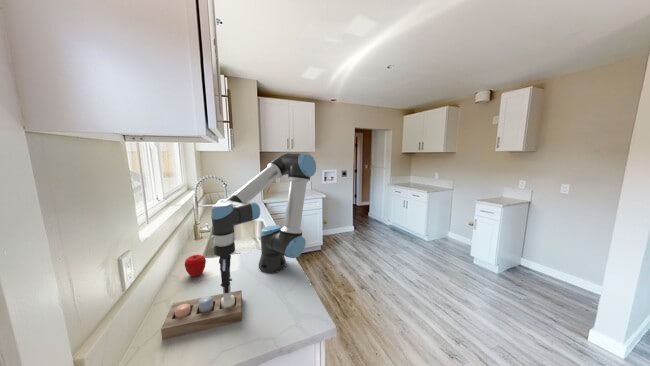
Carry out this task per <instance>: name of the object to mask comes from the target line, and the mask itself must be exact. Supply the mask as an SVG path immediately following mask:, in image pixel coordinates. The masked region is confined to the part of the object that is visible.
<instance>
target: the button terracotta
mask: <svg viewBox="0 0 650 366" xmlns="http://www.w3.org/2000/svg"><path fill="white" fill-rule="evenodd" d="M190 314H191V310H190V305H189V304H182V305H180V306H178V307H177V308H176V309H175V319H176V318H181V317H186V316H190Z"/></svg>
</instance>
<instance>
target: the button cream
mask: <svg viewBox="0 0 650 366" xmlns="http://www.w3.org/2000/svg"><path fill="white" fill-rule="evenodd" d="M221 306H222V308H221V309H224V308H229V307H233V306H235V297H234V295H231V299H227V300H223V298H222V299H221Z"/></svg>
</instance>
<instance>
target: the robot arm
mask: <svg viewBox="0 0 650 366" xmlns="http://www.w3.org/2000/svg"><path fill="white" fill-rule="evenodd" d="M316 172H317V162H316V160H315V158H314V156H312V155H311V154H310V153H302V152H301V153H300V152H299V153H298V152H297V153H291V152H290V153H289V152H288V153H284V154H281V155H279V156H277V157H276V158H275V159H274V160H272V161H270V162H269V163H268V164H267V167H266V168H265V169H263V170H262V171H261V172H260V173H258V174H257V175H255V177H253V178H252V179H251V180H249V181H248V182H247V183H245V184H244V185H243V186H241V188H239V189H238V190H236V191H235V192H234V193H233V194H231V195H230V196H229V197H228V198H221V199H219V200H217V202H216V203H215V204H213V205H212V206H211V216H210V217H211V218H210V219H211V222H212V223H211V225H212V227H211V228H212V235H211V237H210V238H211V239H213V240H212V241H213V242H212V243H213V254H214V255H215V256H216V257H219V259H218V263H219V270H220V271H219V272H220V278H221V283H220V287H222V294H223V300H227V299H231V292H232V290H231V288H232V287H231V282H232V281H233V278H231V258H232V255H231V254H234V253H235V251H236V245H235V240H236V239H235V226H238V225H241V224H245V223H248V222H252V221H255V220H257V219H259V218H260V215H261V208H260V206H259V204H258V203H257V202H255V201H254V202H250V201H252V200H253V199H254V198H255V197H256V196H258V195H259V194H260V193H261V192H262V191H263V190H265V189H266V188H267V187H268V186H269V185H271V184H272V183H273V182H274V181H276V179H281V178H282V177H283V176H287V178H288V179H289V181H290V182H289V188H288V193H287V194H288V195H287V201H286V202H287V203H286V209H285V216H284V224H283V226H282V225H279V224H273V225H267V226H264V227H263V228H262V229H261V230H260V247H261V248H260V250H261V252H260V253H261V254H260V257H259V261H258V270H259V269H260V270H261V271H260V270H259V271H260V272H263V273H265V272H266V273H265V274H267V273H268V274H272V273H273V272H274V273H278V272H280V270H281V269H282V270H284V269H285V268H286V266H287V261H286V258H290V259H296V258H299V256H301V255H302V253H303V252H304V250H305V247H306V244H307V243H306V238H305V237H304V236H303V230H302V228H301V224H302V218H303V212H304V211H303V210H304V205H305V204H304V203H305V196H306V190H307V183H308V182H310V181H311V177H313V176H314V175H315V174H316ZM285 257H286V258H285ZM285 265H286V266H285ZM284 267H285V268H284ZM283 268H284V269H283ZM282 270H281V271H282ZM277 271H278V272H277Z"/></svg>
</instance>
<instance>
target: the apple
mask: <svg viewBox="0 0 650 366" xmlns="http://www.w3.org/2000/svg"><path fill="white" fill-rule="evenodd" d="M206 263H207V259H206V257H205V256H204V255H202V254H194V255H190V256H188V257H187V258H186V259H185V261H184V268H185V270H186V272H187V274H188V275H189V276H191V277H194V278H195V277H198V276H200V275H201V274H202V273H203V272H205V271H204V270H205V268H206Z"/></svg>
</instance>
